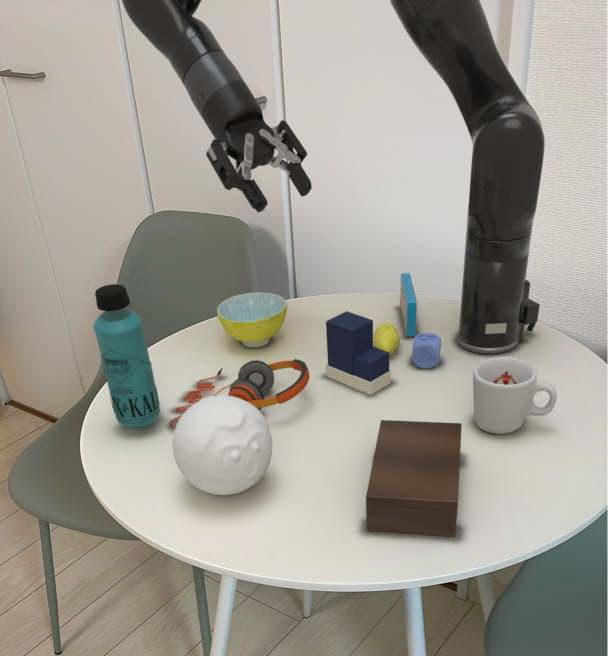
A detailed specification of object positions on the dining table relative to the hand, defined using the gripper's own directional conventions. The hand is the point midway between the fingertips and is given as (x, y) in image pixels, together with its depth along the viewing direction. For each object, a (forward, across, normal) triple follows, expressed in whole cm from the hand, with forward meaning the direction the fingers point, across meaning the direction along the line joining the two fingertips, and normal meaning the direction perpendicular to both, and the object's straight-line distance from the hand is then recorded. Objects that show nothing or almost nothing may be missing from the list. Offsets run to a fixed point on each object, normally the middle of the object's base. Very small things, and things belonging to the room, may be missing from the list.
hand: (286, 200), depth 105 cm
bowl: (+10, -1, +23) cm, 25 cm away
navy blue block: (+26, 0, +7) cm, 27 cm away
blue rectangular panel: (+21, +20, +12) cm, 32 cm away
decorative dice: (+29, +11, +4) cm, 31 cm away
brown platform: (+43, -16, -10) cm, 47 cm away
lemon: (+24, +10, +10) cm, 28 cm away
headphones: (+20, -16, +13) cm, 29 cm away
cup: (+43, +3, -10) cm, 44 cm away
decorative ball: (+30, -30, +4) cm, 43 cm away
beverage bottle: (+15, -29, +18) cm, 38 cm away
